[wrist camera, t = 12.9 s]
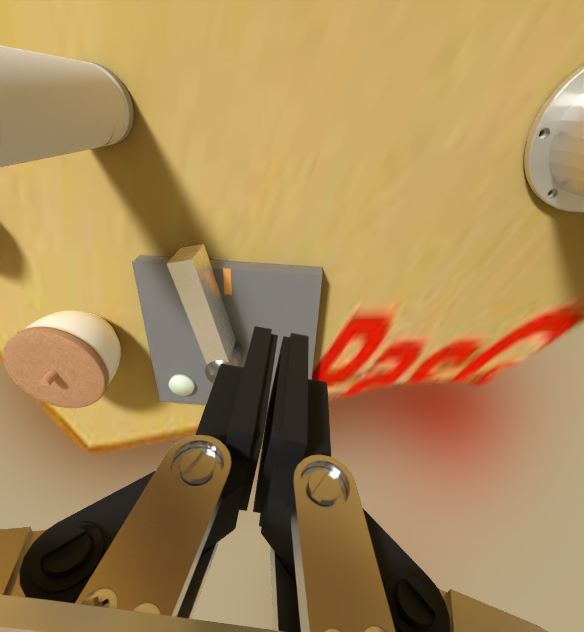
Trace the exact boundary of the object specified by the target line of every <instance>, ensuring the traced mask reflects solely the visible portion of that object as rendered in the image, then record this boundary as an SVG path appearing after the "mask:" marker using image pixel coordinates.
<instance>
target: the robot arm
mask: <svg viewBox="0 0 584 632" xmlns="http://www.w3.org/2000/svg"><path fill="white" fill-rule="evenodd" d="M540 131H541V134H540V135H539V133H540ZM524 167H525V173H526V178H527V181H528V183H529V185H530V188H531V189H532V190H533V192H534V193H535V194H536V196H537V197H538V198H540V199H541V200H542V201H544V202H545V203H546V204H548V205H551V206H553V207H555V208H557V209H561V210H564V211H568V212H584V65H583V66H582V67H580V68H579V69H578V70H576V71H575V72H574V73H572V74H571V75H570V76H569V77H568V78H567V79H566V80H565V81H564V82H562V83H561V84H560V85H559V86H558V87H557V88H556V89H555V91H554V92H553V93H552V94H551V96H550V97H549V98H548V100H547V101H546V102H545V103H544V105H543V106H542V108H541V110H540V112H539V113H538V115H537V117H536V119H535V120H534V123H533V125H532V128H531V130H530V133H529V135H528V139H527V143H526V148H525V156H524ZM548 192H549V193H548ZM271 332H272V329H269V328H263V327H258V326H255V327H254V331H253V334H252V338H251V342H250V346H249V350H248V354H247V358H246V362H245V366H244V367H239V366H233V365H228V364H222V363H221V365H220V367H219V370H218V372H217V375H216V378H215V381H214V384H213V387H212V390H211V392H210V395H209V398H208V401H207V404H206V407H205V409H204V412H203V415H202V418H201V421H200V424H199V427H198V429H197V432H196V435H194V436H189V437H186V438H184V439H181V440H180V441H178V442H177V443H176V444H174V445H173V446H172V447H171V448H170V449H169V451H168V452H167V453H166V455H165V457H164V458H163V460H162V461H161V463H160V465H159V466H158V468H157V470H156V471H154V472H152V473H150V474H149V475H147V476H145V477H143V478H141V479H139V480H137V481H135V482H133V483H132V484H130V485H128V486H126V487H124V488H122V489H120V490H118V491H116V492H115V493H113V494H111V495H109V496H107V497H105V498H103V499H101V500H100V501H98V502H96V503H94V504H92V505H90V506H88V507H86V508H84V509H82V510H81V511H79V512H77V513H75V514H73V515H71V516H69V517H67V518H66V519H64V520H62V521H60V522H58V523H56V524H55V525H53V526H52V527H51V528H49V529H47V530H42V531H32V530H31V527H23V528H11V529H0V632H548V631H546V630H544V629H543V628H541V627H539V626H537V625H535V624H533V623H530V622H528V621H526V620H523V619H521V618H518V617H516V616H514V615H511V614H509V613H507V612H504V611H502V610H499V609H497V608H495V607H492V606H490V605H487V604H485V603H482V602H480V601H478V600H475V599H473V598H471V597H468V596H466V595H463V594H461V593H459V592H456V591H454V590H451V589H450V590H449V591H448V592H445V591H442V590H440V589H438V588H437V587H436V585H435V584H434V583H433V582H432V580H431V579H430V578H429V577H428V576H427V575H426V574H425V573H424V571H423V570H422V569H421V568H420V567H419V566H418V565H417V564H416V563H415V562H414V561H413V560H412V559H411V558H410V557H409V556H408V555H407V554H406V553H405V552H404V551H403V550H402V549H401V548H400V547H399V545H398V544H397V543H396V542H395V541H394V540H393V539H392V538H391V537H390V536H389V535H388V534H387V533H386V532H385V531H384V530H383V529H382V528H381V527H380V526H379V525H378V524H377V523H376V521H374V519H373V518H372V517H371V516H370V515H369V514H368V513H367V512H366V511H365V510H364V509H363V508H362V505H361V501H360V497H359V493H358V490H357V486H356V483H355V480H354V478H353V476H352V474H351V472H350V471H349V470H348V469H347V467H346V466H345V465H343V464H342V463H341V462H339V461H338V460H336V459H334V458H332V457H331V446H330V428H329V410H328V391H327V383H326V382H322V381H317V380H311V379H308V350H309V336H306V335H301V334H295V333H291V334H290V337H286V336H283V340H282V344H281V349H280V354H279V358H278V363H277V367H276V372H275V376H274V381H273V386H272V390H271V395H270V399H269V394H270V387H271V380H272V373H273V367H274V360H275V353H276V346H277V339H278V335H275V334H271ZM268 401H269V405H268ZM267 408H268V411H267ZM266 415H267V418H266ZM265 422H266V425H265ZM264 428H265V432H264ZM263 434H264V439H263ZM262 439H263V446H262V453H261V460H260V467H259V474H258V480H257V487H256V494H255V501H254V509H253V512H258V513H261V514H260V523H259V526H261V527H262V528H261V534H262V535H263V536H264V537H265V539H266V540H267V542H268V543H269V545H270V546H271V553H270V559H271V583H272V605H273V630H268V629H261V628H253V627H246V626H239V625H232V624H224V623H217V622H210V621H202V620H194V619H192V616H193V613H194V610H195V608H196V605H197V602H198V599H199V596H200V593H201V591H202V588H203V585H204V582H205V580H206V577H207V574H208V571H209V569H210V566H211V563H212V560H213V557H214V555H215V552H216V549H217V546H218V541H220V540H221V539H222V538H224V537H225V536H226V535H227V534H229V533H230V532H232V531H233V530H234V529H235V527H236V522H237V517H238V512H239V510H245V511H246V510H247V507H248V503H249V498H250V493H251V489H252V484H253V480H254V476H255V471H256V467H257V462H258V458H259V453H260V449H261V444H262Z"/></svg>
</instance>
